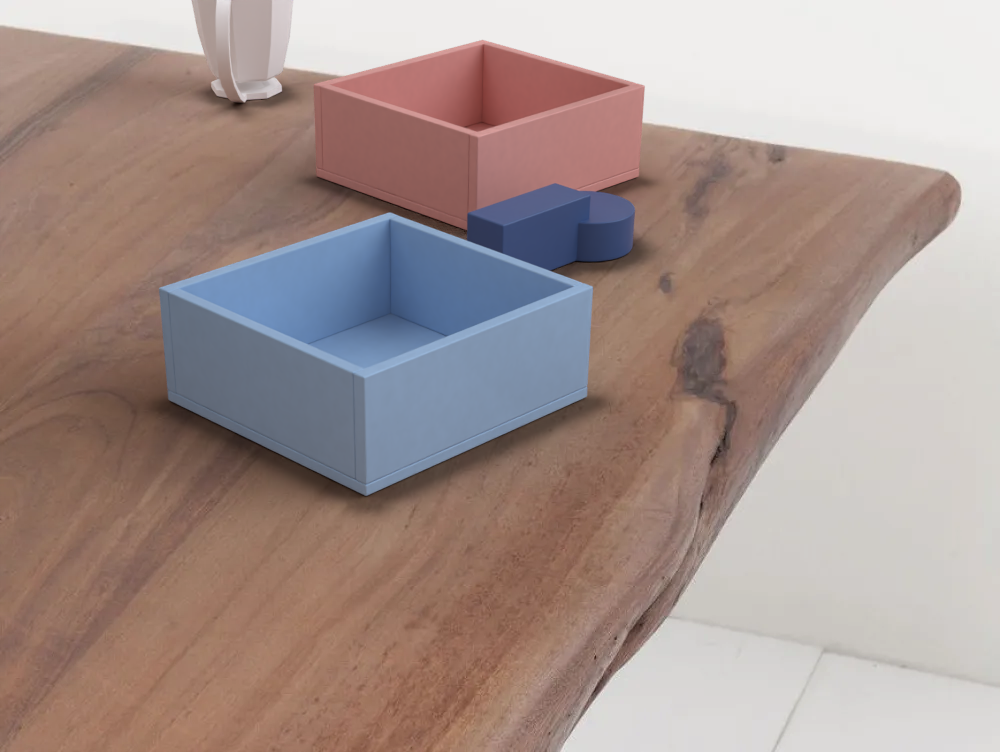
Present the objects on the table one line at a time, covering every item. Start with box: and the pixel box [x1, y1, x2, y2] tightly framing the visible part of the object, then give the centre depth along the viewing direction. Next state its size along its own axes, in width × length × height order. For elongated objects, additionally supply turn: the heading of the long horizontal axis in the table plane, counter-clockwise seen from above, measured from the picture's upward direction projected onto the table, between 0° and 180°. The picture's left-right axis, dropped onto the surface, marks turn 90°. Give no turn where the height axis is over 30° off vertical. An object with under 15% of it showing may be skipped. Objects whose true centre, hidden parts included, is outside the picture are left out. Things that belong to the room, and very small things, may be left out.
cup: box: [191, 0, 294, 104], centre depth 113 cm, size 7×10×8 cm
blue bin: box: [158, 211, 594, 497], centre depth 79 cm, size 12×13×5 cm
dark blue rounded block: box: [466, 183, 636, 271], centre depth 94 cm, size 5×10×3 cm, turn 137°
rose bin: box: [313, 39, 646, 231], centre depth 103 cm, size 12×13×5 cm
